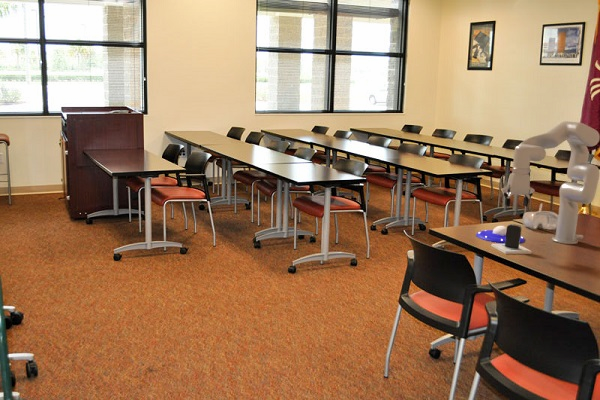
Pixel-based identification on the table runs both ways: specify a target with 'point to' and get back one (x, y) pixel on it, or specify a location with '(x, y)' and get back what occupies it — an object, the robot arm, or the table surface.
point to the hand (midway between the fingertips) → (516, 206)
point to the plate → (511, 249)
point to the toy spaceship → (495, 235)
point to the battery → (513, 236)
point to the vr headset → (540, 219)
